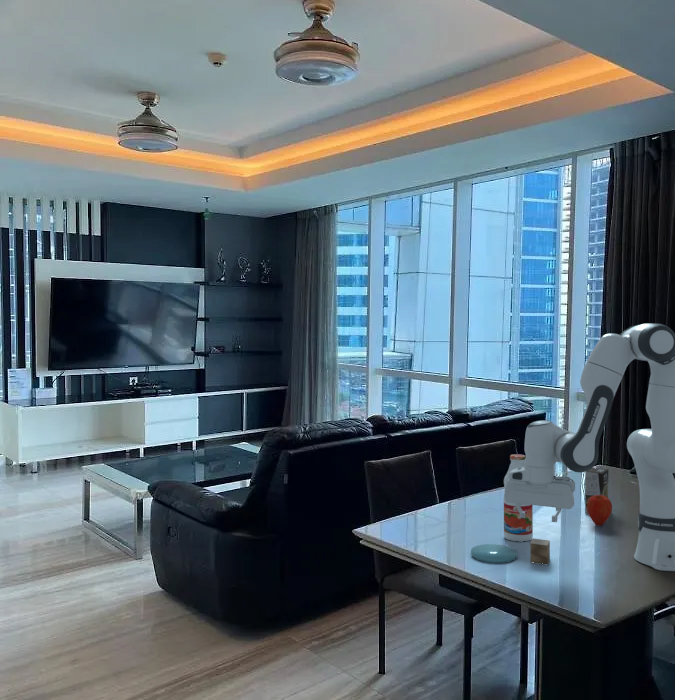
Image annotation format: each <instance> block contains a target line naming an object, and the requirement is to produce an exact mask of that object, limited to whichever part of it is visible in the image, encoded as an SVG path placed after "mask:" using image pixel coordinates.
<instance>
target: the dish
mask: <svg viewBox="0 0 675 700" xmlns="http://www.w3.org/2000/svg"><path fill="white" fill-rule="evenodd" d="M471 555H472V556H473V557H474V558H473V557H472V556H471ZM470 556H471V557H472V558H473V559H475V558H476V559H475V560H477V559H478V560H477V561H480V560H481V561H480V562H483V561H485V563H489V562H490V563H491V564H505V563H506V562H507V563H510V562H509V561H511V562H513V561H512V560H514V559H515V560H517V558H518V552H517V550H516V549H514V548H512V547H510V546H508V545H502V544H494V543H493V544H492V543H491V544H489V543H486V544H478V545H475V546H473V547H472V548H471V550H470ZM516 557H517V558H516ZM515 560H514V561H515Z"/></svg>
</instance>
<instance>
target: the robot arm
mask: <svg viewBox="0 0 675 700" xmlns="http://www.w3.org/2000/svg"><path fill="white" fill-rule="evenodd" d="M634 360H639V361H645V362H648V364H649V369H650V377H649V381H648V390H647V395H646V401H645V410H646V413H647V415H648V417H649V420H650V426H651V428H642V429H636V430H634V431H633V432H631V433H630V434H629V436H628V438H627V441H626V449H627V451H628V453H629V455H630V456H631V458H632V461H633V464H634V468H635V471H636V472H635V473H636V476H637V480H638V488H639V511H638V514H637V528H638V531H639V532H638V537H637V544H636V548H635V552H634V554H633V558H634V559H635V561H637V562H639V563H641V564H644V565H646V566H648V567H652V568H653V569H655V570H656V571H657V570H658V571H665V572H675V477H674V475H673V474H675V332H674V330H672V329H671V328H670V327H669V326H667V325H665V324H662V323H648V322H646V323H642V324H635V325H632V326H629V327H628V328H626V329H625V330H623V331H622V332H621V333H619V334H618V333H606V334H604V335H602V336H601V337H600V338H599V340H598V341H597V342H596V344H595V346H594V347H593V349H592V350H591V352H590V354H589V356H588V358H587V360H586V362H585V364H584V367H583V369H582V371H581V372H582V373H581V376H580V381H579V383H580V388H581V389H582V391H583V393H584V396H585V399H586V405H585V406H586V407H585V410H584V414H583V415H582V419H581V421H580V423H579V426H578V428H577V430H576V431H577V432H572V431H569V430H566V429H565V428H562V427H560V426H558V425H556V424H555V423H554V422H553V421H551V420H548V419H547V420H542V419H541V420H536V421H532V422H531V423H529V424H528V425H527V427H526V430H525V436H524V437H525V438H524V447H523V448H524V453H525V461H524V467H521V468H516V469H513V470H511V471H510V472H509V480H508V481H507V483H506V486H505V485H504V493H503V500H504V499H505V500H506V502H511V503H516V508H517V509H518V511H519V512H520V518H525V512H524V511H522V509H521V505H522V504H528V505H533V506H538V507H545V508H546V507H547V508H555V512H556V513H555V514H552V515H551V523H557V522H558V516H559V515H560V513H561V512H562V509H564V510H565V509H566V510H572V509H573V507H574V506H575V496H574V492H575V490H576V481H574V479H572V478H570V477H568V476H561V475H560V476H559V475H555V464H556V463H562V464H563V465H564V466H565V467H566V468H568V469H569V470H570V471H572V472H575V473H585V472H586V471H588V470H590V469H591V468H595V466H596V464H597V462H598V461H599V453H600V451H599V450H600V449H599V448H600V447H599V445H600V440H601V436H602V433H603V431H604V428H605V426H606V423H607V420H608V418H609V415H610V412H611V409H612V406H613V402H614V398H615V396H616V393H617V391H618V388H619V385H620V383H621V381H622V379H623V377H624V374H625V372H626V370H627V367H628V365H629V364H630V363H631V362H632V361H634Z"/></svg>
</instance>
